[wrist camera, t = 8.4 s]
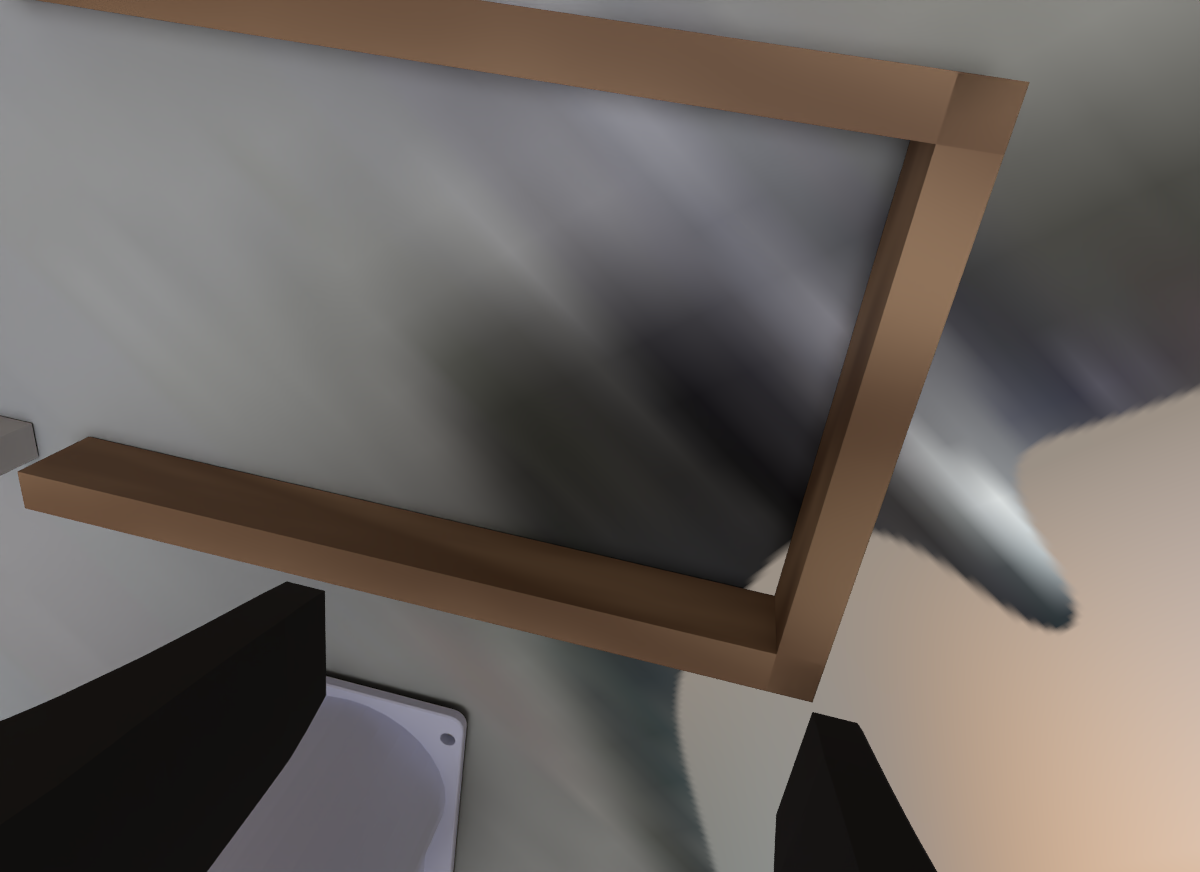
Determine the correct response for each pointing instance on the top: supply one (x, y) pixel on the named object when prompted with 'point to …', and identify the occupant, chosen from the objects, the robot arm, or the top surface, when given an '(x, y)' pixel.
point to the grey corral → (16, 444)
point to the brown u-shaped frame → (554, 573)
